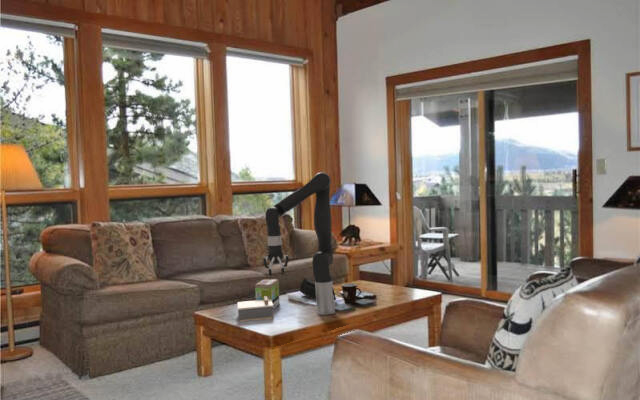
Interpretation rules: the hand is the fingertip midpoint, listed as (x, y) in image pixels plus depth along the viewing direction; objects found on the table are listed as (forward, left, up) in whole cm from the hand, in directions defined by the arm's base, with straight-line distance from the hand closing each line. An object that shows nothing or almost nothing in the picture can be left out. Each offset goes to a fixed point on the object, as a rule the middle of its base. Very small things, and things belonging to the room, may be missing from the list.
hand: (276, 275), depth 300 cm
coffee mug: (-42, -11, -22) cm, 49 cm away
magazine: (-26, -28, -22) cm, 44 cm away
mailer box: (+13, 0, -21) cm, 25 cm away
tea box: (+5, -19, -22) cm, 29 cm away
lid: (+12, 0, -15) cm, 20 cm away
